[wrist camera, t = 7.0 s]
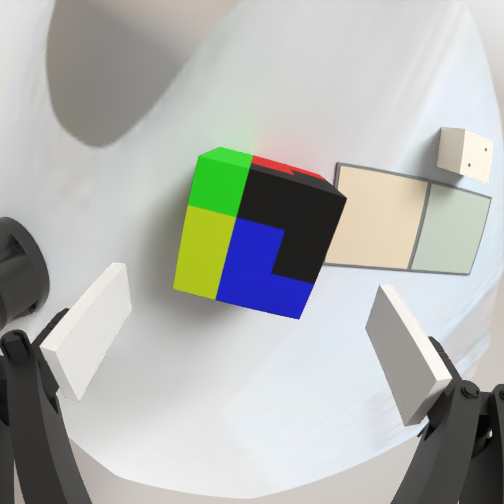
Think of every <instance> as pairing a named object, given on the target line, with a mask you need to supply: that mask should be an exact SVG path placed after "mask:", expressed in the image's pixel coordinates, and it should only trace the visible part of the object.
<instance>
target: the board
mask: <svg viewBox="0 0 504 504" xmlns="http://www.w3.org/2000/svg"><path fill="white" fill-rule="evenodd" d="M334 187H335V188H336V189H337V190H338V191H340V192H341V193H342V194H343V195H344V196H345V197H347V201H346V204H345V207H344V209H343V212H342V215H341V218H340V220H339V223H338V226H337V228H336V231H335V234H334V236H333V239H332V242H331V244H330V247H329V249H328V252H327V254H326V257H325V259H324V262H323V264H322V265H334V266H347V267H360V268H374V269H387V270H401V271H415V272H429V273H443V274H458V275H470V272H471V269H472V267H473V264H474V261H475V258H476V255H477V251H478V248H479V245H480V242H481V238H482V235H483V231H484V228H485V224H486V220H487V216H488V212H489V208H490V203H491V199H492V197H489V196H486V195H482V194H479V193H476V192H472V191H469V190H465V189H462V188H458V187H455V186H451V185H447V184H443V183H439V182H435V181H431V180H427V179H423V178H418V177H414V176H410V175H405V174H400V173H395V172H391V171H385V170H380V169H375V168H369V167H364V166H358V165H352V164H346V163H339V162H338V163H337V171H336V178H335V185H334Z"/></svg>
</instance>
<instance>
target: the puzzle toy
mask: <svg viewBox="0 0 504 504" xmlns="http://www.w3.org/2000/svg"><path fill="white" fill-rule="evenodd" d="M346 201H347V197H345V196H344V195H343V194H342V193H341V192H340V191H338V190H337V189H336V188H335V187H334V186H332V185H331V184H330V183H329V182H328V181H326V180H325V179H324V178H323V177H321V176H320V175H318V174H315V173H312V172H309V171H306V170H302V169H299V168H296V167H293V166H289V165H286V164H282V163H279V162H275V161H272V160H268V159H265V158H261V157H257V156H254V155H250V154H246V153H242V152H238V151H234V150H230V149H226V148H222V147H219V148H216V149H214V150H212V151H209V152H207V153H205V154H202V155H200V156H198V160H197V165H196V169H195V174H194V178H193V183H192V187H191V192H190V197H189V201H188V206H187V211H186V216H185V221H184V227H183V232H182V237H181V243H180V249H179V254H178V260H177V266H176V272H175V279H174V285H173V289H176V290H180V291H183V292H187V293H191V294H194V295H198V296H202V297H206V298H210V299H214V300H217V301H221V302H225V303H229V304H233V305H238V306H242V307H246V308H250V309H254V310H258V311H263V312H267V313H271V314H276V315H280V316H285V317H289V318H294V319H300V316H301V314H302V312H303V310H304V307H305V305H306V303H307V300H308V298H309V296H310V293H311V291H312V289H313V286H314V284H315V281H316V279H317V277H318V274H319V272H320V269H321V267H322V264H323V262H324V259H325V257H326V254H327V252H328V249H329V247H330V244H331V242H332V239H333V236H334V234H335V231H336V228H337V226H338V223H339V220H340V218H341V215H342V212H343V209H344V207H345V204H346Z"/></svg>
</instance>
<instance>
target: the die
mask: <svg viewBox="0 0 504 504" xmlns="http://www.w3.org/2000/svg"><path fill="white" fill-rule="evenodd" d="M493 146H494V142H493V141H491V140H489V139H486V138H484V137H482V136H480V135H478V134H475V133H473V132H471V131H468V130H466V129H458V128H447V127H441V136H440V144H439V152H438V159H437V165H436V167H439V168H443V169H446V170H449V171H452V172H455V173H458V174H461V175H464V176H467V177H470V178H473V179H477V180H479V181H482V182H485V183H488V180H489V175H490V168H491V162H492V154H493Z"/></svg>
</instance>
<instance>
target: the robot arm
mask: <svg viewBox="0 0 504 504" xmlns="http://www.w3.org/2000/svg"><path fill="white" fill-rule="evenodd" d="M48 293H49V276H48V271H47V267H46V264H45V261H44V258H43V256H42V253H41V251H40V249H39V247H38V245H37V244H36V242H35V240H34V239H33V237H32V236H31V235H30V233H29V232H28V231H27V230H26V229H25V228H24V227H23V226H22V225H21V224H20V223H18V222H17V221H15V220H14V219H11V218H8V217H2V218H0V331H1V330H2V329H3V328H4V327H5V326H6V325H7V324H8V323H10V322H13V321H15V320H17V319H20V318H22V317H25V316H27V315H29V314H32V313H34V312H35V311H36V310H37V309H38V308H39V307H40V306H41V305H42V304H43V303H44V302H45V301H46V299H47V297H48ZM131 311H132V303H131V297H130V291H129V284H128V276H127V269H126V264H123V263H114V262H113V263H112V264H111V265H110V266H109V267H108V268H107V269H106V270H105V271H104V272H103V273H102V274H101V275H100V276H99V278H98V279H97V280H96V281H95V282H94V283H93V284H92V285H91V286H90V287H89V288H88V289H87V291H86V292H85V293H84V294H83V295H82V296H81V297H80V298H79V300H78V301H77V302H76V303H75V304H74V305H73V306H72V308H71V309H67V308H65V309H64V310H62V311H61V312H59V313H57V314H56V315H55V316H54V318H53V319H52V320H51V322H49V323H48V325H47V326H46V328H44V329H43V330H42V332H41V333H40V334H39V335H38V336H37V338H36V339H35V340H34V341H33V342H32V344H30V341H29V339H28V337H27V334H26V333H25V332H24V331H22V330H12V331H9V332H7V333H6V334H4V335H3V336H2V337H1V339H0V348H1V350H2V352H3V354H4V356H1V355H0V504H15V503H14V459H15V464H16V469H17V474H18V478H19V482H20V487H21V491H22V494H23V498H24V501H25V504H92V502H91V500H90V497H89V495H88V493H87V490H86V488H85V485H84V483H83V480H82V478H81V476H80V473H79V470H78V467H77V465H76V461H75V459H74V456H73V452H72V449H71V446H70V443H69V439H68V436H67V433H66V429H65V425H64V421H63V418H62V413H61V409H60V405H59V400H58V397H57V395H56V394H55V393H56V392H57V390H58V388H60V390H61V392H62V394H63V395H64V397H67V398H69V399H72V400H75V401H78V402H79V401H80V400H81V398H82V396H83V394H84V392H85V390H86V388H87V386H88V385H89V383H90V381H91V379H92V377H93V375H94V374H95V372H96V370H97V368H98V367H99V365H100V363H101V361H102V360H103V358H104V356H105V354H106V353H107V351H108V349H109V347H110V346H111V344H112V342H113V341H114V339H115V337H116V336H117V334H118V332H119V331H120V329H121V327H122V326H123V324H124V322H125V321H126V319H127V317H128V316H129V314H130V313H131ZM365 329H366V331H367V333H368V336H369V338H370V340H371V342H372V345H373V347H374V349H375V352H376V354H377V357H378V359H379V361H380V364H381V366H382V369H383V371H384V374H385V376H386V379H387V381H388V384H389V386H390V389H391V391H392V394H393V396H394V399H395V402H396V404H397V407H398V410H399V412H400V415H401V418H402V421H403V423H404V426H410V425H415V424H420V422H421V421H422V420H423V419H424V417H425V416H426V415H427V416H428V419H429V422H428V423H427V424H426V426H425V427H424V428H423V429H422V430H421V432H420V433H419V434H418V436H417V437H420V436H421V434H423V435H422V437H421V440H420V442H419V445H418V447H417V450H416V452H415V454H414V457H413V459H412V461H411V464H410V466H409V468H408V470H407V473H406V475H405V477H404V479H403V481H402V483H401V485H400V487H399V489H398V491H397V493H396V494H395V496H394V498H393V500H392V502H391V504H457V503H458V500H459V504H504V384H499V385H497V386H496V387H495V388H494V389H493V391H492V392H480V390H479V388H478V387H477V386H476V385H475V384H474V383H472V382H471V381H467V380H462V379H461V377H460V375H459V373H458V372H457V370H456V369H455V367H454V365H453V364H452V362H451V360H450V359H448V358H449V357H448V356H447V354H446V353H445V352H444V349H443V348H442V346H441V345H440V343H439V342H437V341H436V340H435V339H434V338H433V337H432V336H430V337H427V335H426V334H425V332H424V331H423V329H422V328H421V326H420V325H419V323H418V322H417V320H416V319H415V317H414V316H413V314H412V313H411V311H410V310H409V308H408V307H407V305H406V304H405V302H404V301H403V300H402V298H401V297H400V295H399V294H398V292H397V291H396V290H395V288H394V287H393V286H392V285H380V284H379V287H378V291H377V294H376V297H375V300H374V303H373V306H372V310H371V313H370V315H369V318H368V321H367V324H366V327H365ZM491 430H492V437H490V436H489V432H490V431H491Z"/></svg>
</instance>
